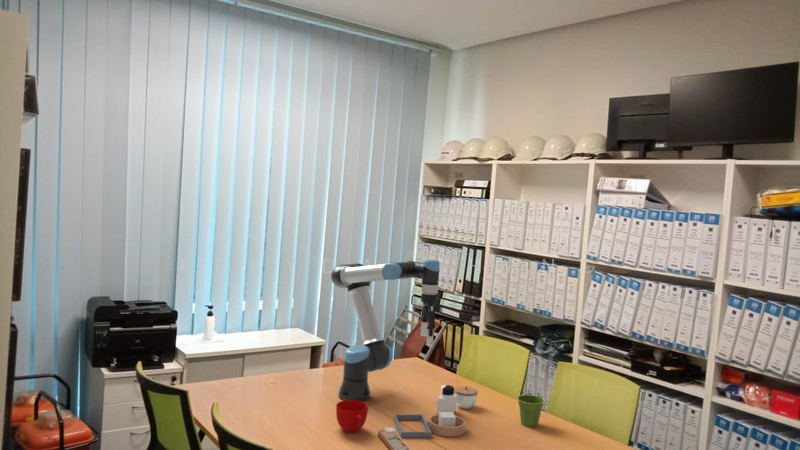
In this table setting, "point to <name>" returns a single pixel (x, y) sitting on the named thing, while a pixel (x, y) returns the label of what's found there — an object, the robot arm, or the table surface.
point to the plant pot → (530, 409)
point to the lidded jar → (465, 396)
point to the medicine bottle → (446, 399)
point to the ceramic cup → (351, 415)
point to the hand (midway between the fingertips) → (426, 339)
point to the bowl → (447, 431)
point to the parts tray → (412, 434)
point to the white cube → (447, 419)
